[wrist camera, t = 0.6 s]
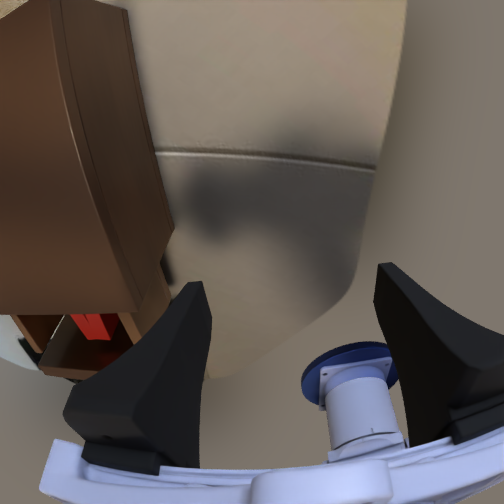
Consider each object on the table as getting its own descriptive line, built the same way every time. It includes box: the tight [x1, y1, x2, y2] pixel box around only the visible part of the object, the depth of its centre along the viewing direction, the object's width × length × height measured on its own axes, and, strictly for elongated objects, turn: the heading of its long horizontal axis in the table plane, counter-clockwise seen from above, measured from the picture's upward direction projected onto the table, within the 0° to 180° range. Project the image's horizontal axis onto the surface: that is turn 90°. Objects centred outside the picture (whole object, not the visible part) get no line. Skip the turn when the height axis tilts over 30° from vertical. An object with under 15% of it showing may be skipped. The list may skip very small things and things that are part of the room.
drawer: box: [10, 263, 171, 380], centre depth 20 cm, size 18×11×6 cm, turn 8°
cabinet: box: [0, 0, 174, 315], centre depth 14 cm, size 15×13×8 cm
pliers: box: [70, 313, 120, 340], centre depth 19 cm, size 3×9×4 cm, turn 8°
